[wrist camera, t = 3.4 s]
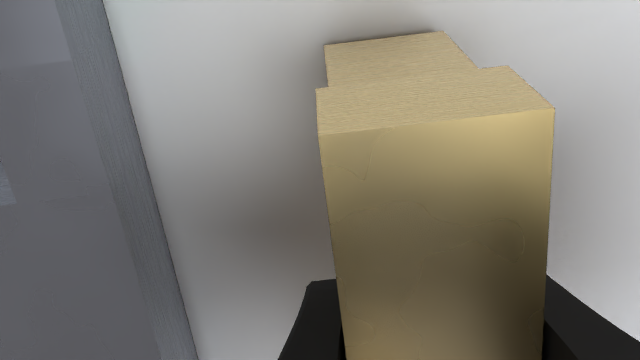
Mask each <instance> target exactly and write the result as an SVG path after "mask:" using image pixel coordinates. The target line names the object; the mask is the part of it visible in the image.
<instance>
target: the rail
mask: <svg viewBox="0 0 640 360" xmlns="http://www.w3.org/2000/svg"><path fill="white" fill-rule="evenodd" d="M0 160H1V162H0V360H198V358H197V354H196V350H195V347H194V343H193V339H192V335H191V332H190V328H189V324H188V320H187V317H186V313H185V309H184V305H183V302H182V298H181V294H180V290H179V287H178V283H177V279H176V275H175V272H174V268H173V264H172V260H171V257H170V253H169V249H168V245H167V242H166V238H165V234H164V231H163V227H162V223H161V219H160V216H159V212H158V208H157V204H156V201H155V197H154V193H153V189H152V186H151V182H150V178H149V174H148V171H147V167H146V163H145V159H144V156H143V152H142V148H141V144H140V141H139V137H138V133H137V129H136V126H135V122H134V118H133V114H132V111H131V107H130V103H129V99H128V96H127V92H126V88H125V84H124V81H123V77H122V73H121V69H120V66H119V62H118V58H117V54H116V51H115V47H114V43H113V39H112V36H111V32H110V28H109V25H108V21H107V17H106V13H105V10H104V6H103V2H102V0H0Z"/></svg>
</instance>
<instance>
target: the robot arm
mask: <svg viewBox="0 0 640 360" xmlns="http://www.w3.org/2000/svg"><path fill="white" fill-rule="evenodd" d="M278 360H347V358H346V351H345V343H344V335H343V327H342V319H341V312H340V304H339V296H338V288H337V280H336V279H329V280H320V281H312V282H311V283H310V284H309V285H308V286H307V287H306V292H305V296H304V299H303V302H302V305H301V308H300V311H299V313H298V316H297V318H296V321H295V323H294V326H293V328H292V330H291V332H290V335H289V337H288V339H287V341H286V343H285V345H284V348H283V350H282V352H281V354H280V356H279V358H278ZM542 360H640V342H639V341H638V340H636V339H635V338H633V337H632V336H630V335H629V334H627V333H625V332H624V331H622V330H621V329H619V328H618V327H616V326H615V325H613V324H612V323H611V322H609V321H608V320H606V319H605V318H603V317H602V316H601V315H599V314H598V313H596V312H595V311H594V310H592V309H591V308H589V307H588V306H587V305H585V304H584V303H583V302H581V301H580V300H579V299H577V298H576V297H575V296H573V295H572V294H571V293H569V292H568V291H567V290H566V289H564V288H563V287H562V286H560V285H559V284H558V283H557V282H555V281H554V280H553V279H551V278H550V277H549V276H548V275H546V285H545V304H544V323H543V341H542Z"/></svg>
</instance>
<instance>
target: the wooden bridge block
mask: <svg viewBox="0 0 640 360" xmlns="http://www.w3.org/2000/svg"><path fill="white" fill-rule="evenodd" d="M324 53H325V62H326V71H327V80H328V87H325V88H316V106H317V126H318V140H319V148H320V156H321V163H322V171H323V179H324V187H325V195H326V202H327V210H328V218H329V226H330V234H331V241H332V249H333V257H334V265H335V273H336V280H337V288H338V296H339V304H340V312H341V319H342V327H343V335H344V343H345V351H346V358H347V360H542V341H543V323H544V304H545V285H546V266H547V247H548V229H549V210H550V191H551V172H552V153H553V135H554V116H555V108H554V107H553V106H552V105H551V104H550V103H549V102H548V101H547V100H545V99H544V98H543V97H542V96H541V95H540V94H539V93H538V92H537V91H535V90H534V89H533V88H532V87H531V86H530V85H529V84H528V83H527V82H525V81H524V80H523V79H522V78H521V77H520V76H519V75H518V74H516V73H515V72H514V71H513V70H512V69H511V68H510V67H509V66H499V67H491V68H483V69H478V68H477V66H476V65H475V64H474V63H473V62H472V61H471V60H470V59H469V58H468V57H467V56H466V55H465V54H464V53H463V52H462V50H461V49H460V48H459V47H458V46H457V45H456V44H455V43H454V42H453V41H452V40H451V39H450V38H449V37H448V36H447V34H446V33H445V32H444V31H437V32H429V33H421V34H413V35H404V36H396V37H388V38H380V39H372V40H364V41H355V42H347V43H339V44H331V45H324Z"/></svg>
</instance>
